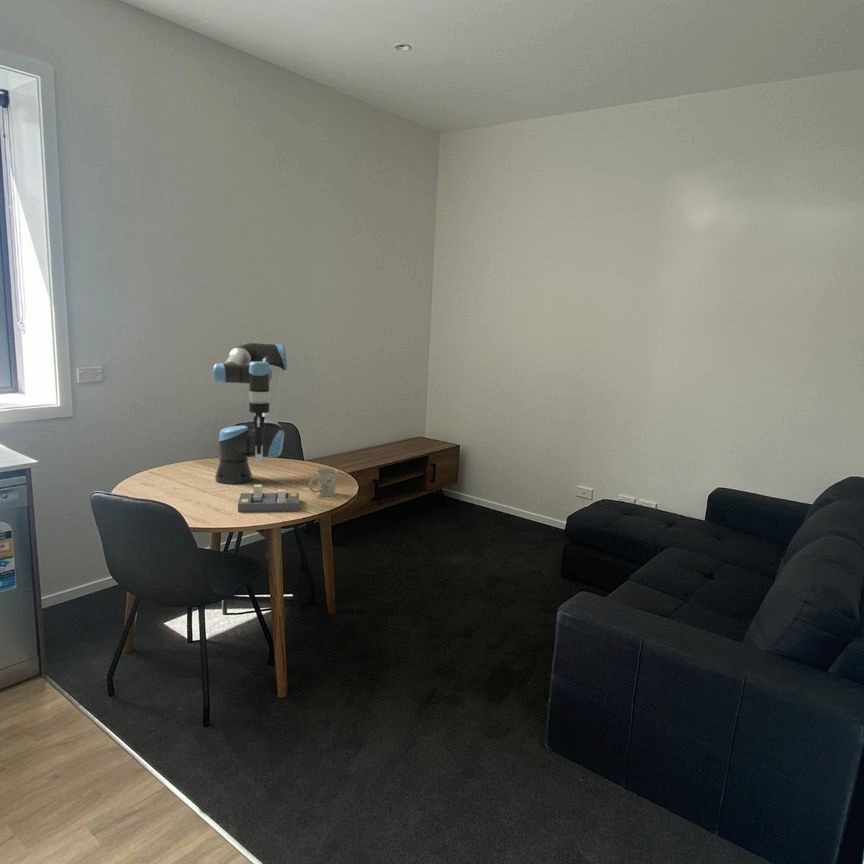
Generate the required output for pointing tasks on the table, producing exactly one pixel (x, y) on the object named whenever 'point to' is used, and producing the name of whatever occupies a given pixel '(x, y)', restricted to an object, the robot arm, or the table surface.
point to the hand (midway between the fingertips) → (259, 461)
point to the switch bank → (268, 503)
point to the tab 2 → (281, 496)
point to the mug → (325, 482)
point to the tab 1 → (257, 493)
